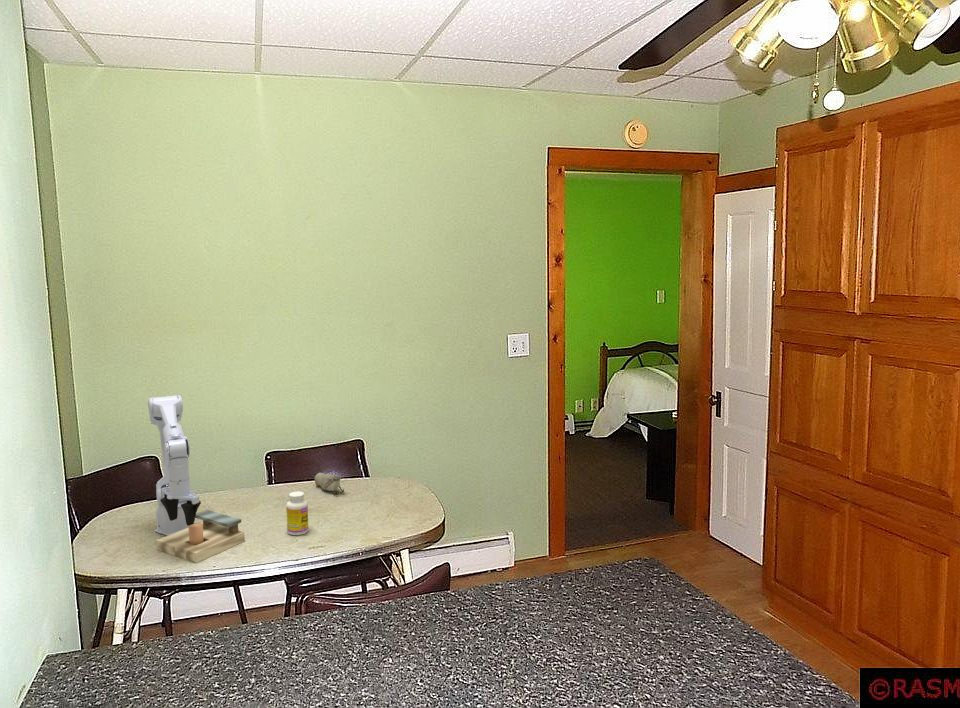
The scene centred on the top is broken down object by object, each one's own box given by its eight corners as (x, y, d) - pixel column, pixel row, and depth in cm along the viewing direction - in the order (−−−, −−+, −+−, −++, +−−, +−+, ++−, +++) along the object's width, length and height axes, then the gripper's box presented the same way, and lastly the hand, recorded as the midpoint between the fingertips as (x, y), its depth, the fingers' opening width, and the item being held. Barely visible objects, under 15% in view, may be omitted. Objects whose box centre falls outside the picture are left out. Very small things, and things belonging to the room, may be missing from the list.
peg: (187, 551, 223) (185, 526, 222) (198, 546, 227) (197, 521, 225) (195, 554, 221) (193, 529, 220) (206, 549, 224) (205, 524, 223)
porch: (157, 549, 225) (155, 527, 223) (206, 529, 240) (204, 509, 239) (196, 562, 215) (194, 540, 214) (244, 541, 231) (243, 519, 230)
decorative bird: (322, 484, 284) (322, 465, 282) (347, 494, 273) (346, 475, 271) (310, 487, 280) (309, 468, 279) (334, 498, 269) (334, 478, 268)
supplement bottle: (303, 536, 234) (301, 498, 232) (283, 535, 235) (282, 496, 233) (312, 528, 241) (310, 491, 239) (293, 527, 242) (291, 489, 240)
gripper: (151, 478, 220) (154, 521, 222) (183, 486, 213) (186, 531, 215) (171, 471, 226) (174, 514, 228) (204, 479, 219) (206, 523, 221)
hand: (181, 522), depth 222 cm, fingers open, 7 cm apart
